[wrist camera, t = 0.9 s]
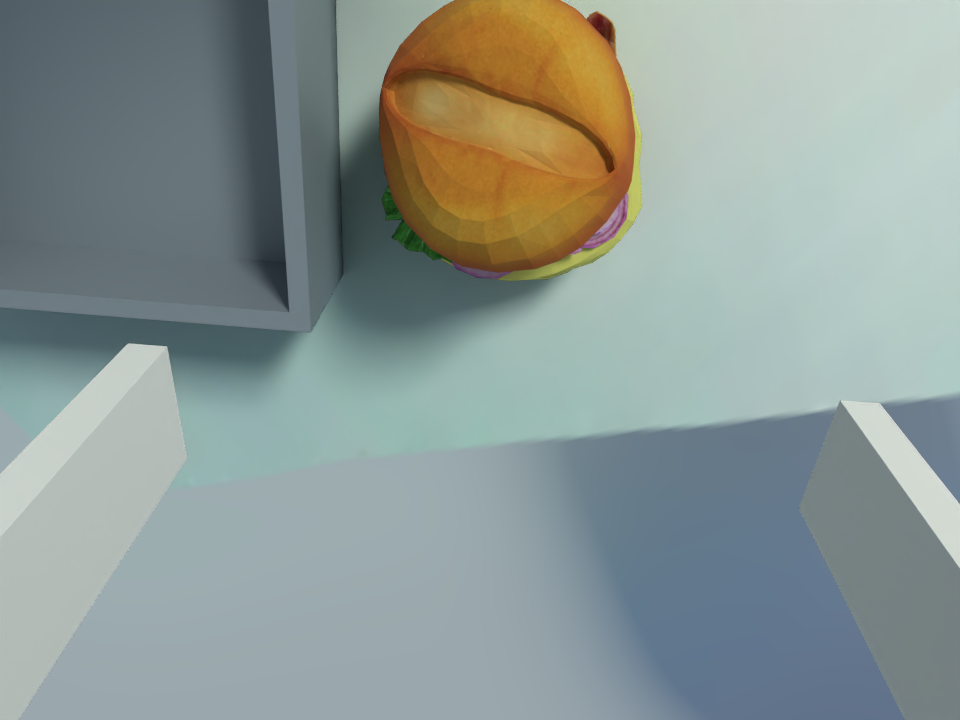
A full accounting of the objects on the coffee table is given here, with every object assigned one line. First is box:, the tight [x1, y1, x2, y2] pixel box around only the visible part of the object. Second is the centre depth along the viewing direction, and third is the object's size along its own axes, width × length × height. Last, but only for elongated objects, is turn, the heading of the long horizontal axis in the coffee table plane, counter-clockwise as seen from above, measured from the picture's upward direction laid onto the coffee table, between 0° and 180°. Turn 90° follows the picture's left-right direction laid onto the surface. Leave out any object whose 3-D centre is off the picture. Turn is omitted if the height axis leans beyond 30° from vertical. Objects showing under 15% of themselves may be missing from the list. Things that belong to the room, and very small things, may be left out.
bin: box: [0, 0, 343, 333], centre depth 26 cm, size 18×18×6 cm
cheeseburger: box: [379, 0, 642, 281], centre depth 27 cm, size 10×11×10 cm
